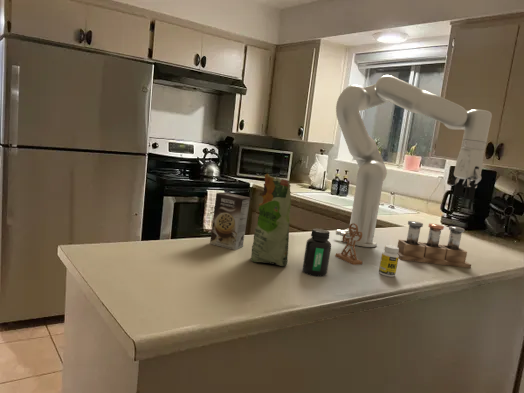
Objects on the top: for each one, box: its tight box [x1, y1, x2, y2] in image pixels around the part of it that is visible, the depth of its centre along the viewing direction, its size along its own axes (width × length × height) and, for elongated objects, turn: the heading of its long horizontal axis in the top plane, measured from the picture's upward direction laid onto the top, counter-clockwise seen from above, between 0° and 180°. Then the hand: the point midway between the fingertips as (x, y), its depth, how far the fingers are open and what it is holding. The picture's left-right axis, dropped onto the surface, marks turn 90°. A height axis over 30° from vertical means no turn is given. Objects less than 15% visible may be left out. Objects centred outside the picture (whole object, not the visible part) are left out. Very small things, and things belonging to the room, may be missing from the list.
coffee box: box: [209, 191, 251, 251], centre depth 137 cm, size 9×6×16 cm
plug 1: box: [406, 220, 424, 245], centre depth 155 cm, size 5×5×8 cm
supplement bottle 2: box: [378, 244, 399, 278], centre depth 129 cm, size 5×5×8 cm
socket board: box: [396, 239, 472, 269], centre depth 156 cm, size 25×10×5 cm, turn 93°
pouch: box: [250, 173, 292, 267], centre depth 124 cm, size 11×12×25 cm
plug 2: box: [446, 225, 465, 250], centre depth 156 cm, size 5×5×8 cm
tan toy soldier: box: [334, 223, 363, 266], centre depth 139 cm, size 9×4×12 cm, turn 30°
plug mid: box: [426, 223, 445, 248], centre depth 155 cm, size 5×5×8 cm
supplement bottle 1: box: [302, 228, 332, 277], centre depth 121 cm, size 7×7×12 cm
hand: (463, 196), depth 154 cm, fingers open, 6 cm apart
